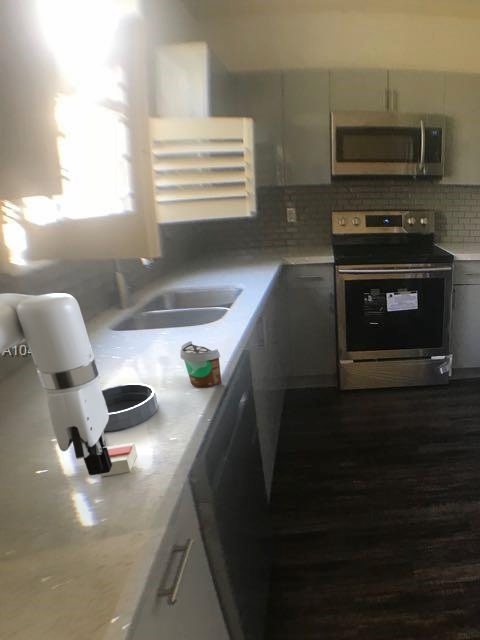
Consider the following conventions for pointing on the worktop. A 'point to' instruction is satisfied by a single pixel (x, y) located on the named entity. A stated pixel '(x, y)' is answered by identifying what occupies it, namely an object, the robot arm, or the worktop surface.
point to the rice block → (121, 458)
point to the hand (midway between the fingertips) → (101, 471)
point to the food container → (201, 365)
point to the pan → (129, 405)
